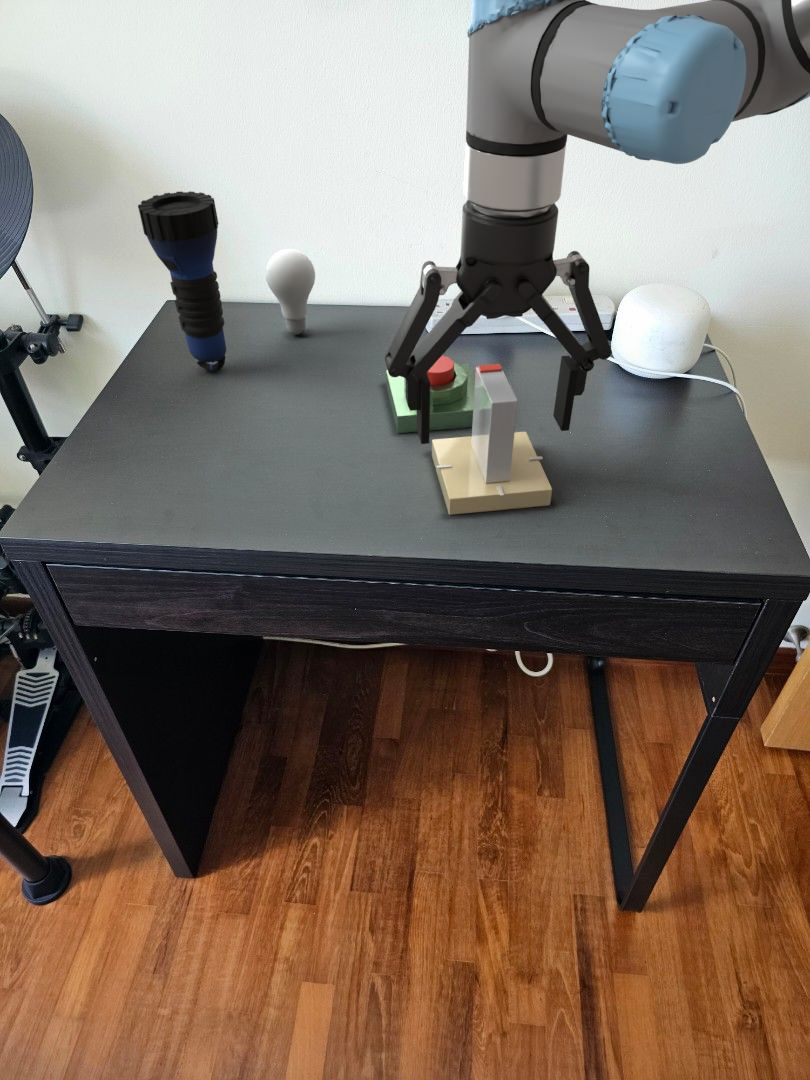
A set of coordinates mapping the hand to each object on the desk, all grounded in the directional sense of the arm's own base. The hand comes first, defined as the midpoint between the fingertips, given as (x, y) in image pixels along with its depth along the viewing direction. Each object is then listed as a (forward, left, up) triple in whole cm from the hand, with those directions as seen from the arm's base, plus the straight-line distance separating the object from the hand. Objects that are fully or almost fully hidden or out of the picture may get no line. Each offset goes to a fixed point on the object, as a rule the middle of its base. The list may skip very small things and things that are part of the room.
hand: (492, 429), depth 76 cm
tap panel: (0, 0, -6) cm, 6 cm away
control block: (+15, +3, -6) cm, 16 cm away
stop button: (+14, +3, -2) cm, 15 cm away
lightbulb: (+35, +18, -6) cm, 39 cm away
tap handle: (0, 0, -4) cm, 4 cm away
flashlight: (+27, +29, -6) cm, 40 cm away
